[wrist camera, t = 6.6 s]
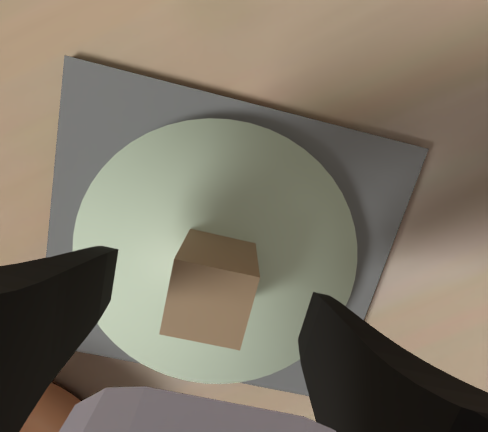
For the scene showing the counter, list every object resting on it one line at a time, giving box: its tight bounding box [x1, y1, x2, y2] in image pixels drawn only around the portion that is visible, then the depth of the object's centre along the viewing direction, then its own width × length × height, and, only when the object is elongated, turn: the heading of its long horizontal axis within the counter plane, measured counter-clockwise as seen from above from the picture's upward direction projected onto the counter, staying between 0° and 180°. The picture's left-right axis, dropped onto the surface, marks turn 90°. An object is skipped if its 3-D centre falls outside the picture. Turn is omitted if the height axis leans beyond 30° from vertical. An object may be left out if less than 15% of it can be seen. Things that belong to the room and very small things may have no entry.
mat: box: [46, 56, 429, 396], centre depth 15 cm, size 16×14×1 cm
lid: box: [73, 118, 357, 384], centre depth 13 cm, size 13×13×4 cm
